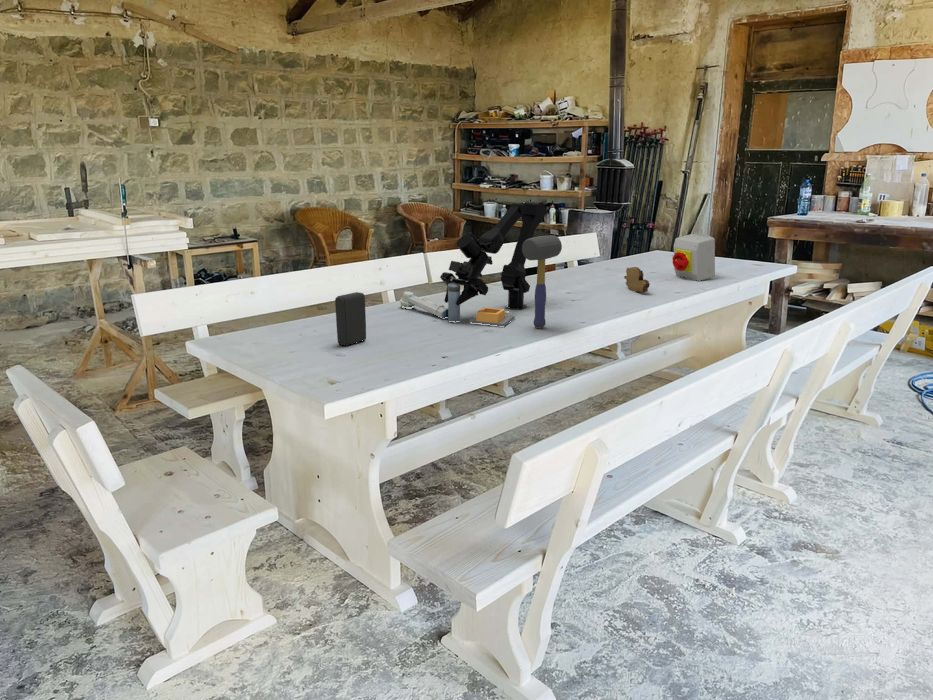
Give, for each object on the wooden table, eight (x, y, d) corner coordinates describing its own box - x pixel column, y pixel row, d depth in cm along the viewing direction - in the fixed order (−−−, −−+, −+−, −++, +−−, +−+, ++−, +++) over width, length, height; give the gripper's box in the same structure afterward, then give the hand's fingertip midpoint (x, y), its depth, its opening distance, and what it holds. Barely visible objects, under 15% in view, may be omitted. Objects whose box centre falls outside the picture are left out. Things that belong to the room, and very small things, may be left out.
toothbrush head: (441, 310, 235) (397, 288, 252) (440, 328, 238) (396, 306, 254) (453, 307, 238) (409, 286, 255) (451, 325, 241) (408, 304, 258)
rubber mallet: (543, 322, 234) (546, 233, 225) (560, 326, 229) (564, 235, 220) (517, 329, 226) (520, 236, 217) (535, 333, 221) (538, 238, 212)
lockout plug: (450, 319, 237) (450, 282, 233) (462, 320, 236) (462, 283, 232) (446, 322, 234) (445, 284, 230) (457, 323, 232) (457, 285, 228)
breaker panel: (482, 316, 242) (482, 304, 241) (514, 319, 238) (515, 307, 237) (469, 324, 232) (469, 311, 231) (503, 327, 228) (504, 315, 226)
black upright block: (359, 338, 215) (357, 291, 210) (368, 340, 212) (366, 292, 208) (336, 345, 208) (333, 296, 204) (345, 347, 206) (342, 297, 201)
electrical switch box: (665, 281, 314) (664, 237, 307) (691, 274, 319) (690, 231, 312) (688, 287, 301) (687, 242, 294) (715, 279, 306) (714, 235, 299)
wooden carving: (652, 295, 276) (654, 270, 273) (643, 296, 274) (645, 271, 271) (628, 287, 291) (630, 263, 288) (619, 288, 289) (621, 264, 286)
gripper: (443, 248, 237) (419, 284, 233) (482, 255, 224) (457, 293, 220) (460, 268, 244) (437, 304, 240) (499, 275, 232) (475, 313, 227)
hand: (451, 303), depth 232 cm, fingers open, 5 cm apart
